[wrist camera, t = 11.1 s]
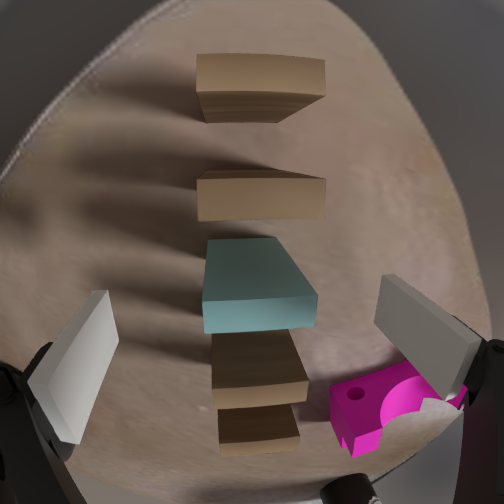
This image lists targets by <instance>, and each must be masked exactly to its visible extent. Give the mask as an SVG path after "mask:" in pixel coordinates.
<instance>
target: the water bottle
mask: <svg viewBox="0 0 504 504" xmlns="http://www.w3.org/2000/svg"><path fill="white" fill-rule="evenodd" d="M320 495H321V499H322V502H323V504H381V502H380V500H379V498H378V497H377V495H376V493H375V491H374V489H373V487H372V485H371V483H370V480H369V478H368V476H367V475H366V474H363V473H358V474H352V475H348V476H345V477H342V478H339V479H337V480H335V481H333V482H331V483H329V484H328V485H326V486H325V487H324V488H323V489H322V490H321V491H320Z"/></svg>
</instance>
